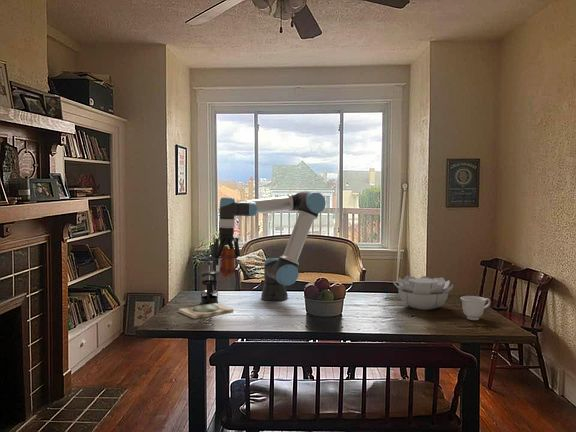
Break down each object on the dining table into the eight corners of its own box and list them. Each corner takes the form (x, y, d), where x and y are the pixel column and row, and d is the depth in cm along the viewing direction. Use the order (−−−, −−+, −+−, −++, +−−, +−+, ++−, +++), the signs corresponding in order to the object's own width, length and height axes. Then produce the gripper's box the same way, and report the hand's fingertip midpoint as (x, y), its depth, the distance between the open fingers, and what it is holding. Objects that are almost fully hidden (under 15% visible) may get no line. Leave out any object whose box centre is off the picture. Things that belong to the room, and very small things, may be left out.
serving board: (216, 305, 268) (216, 301, 268) (233, 311, 255) (233, 307, 255) (178, 312, 255) (178, 307, 254) (194, 318, 241) (194, 314, 241)
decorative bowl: (430, 299, 285) (430, 273, 284) (463, 312, 257) (464, 283, 256) (382, 303, 276) (383, 276, 275) (411, 316, 248) (412, 286, 247)
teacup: (496, 321, 240) (497, 300, 239) (467, 322, 237) (468, 301, 237) (482, 314, 252) (483, 295, 251) (455, 316, 249) (455, 296, 249)
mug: (237, 277, 255) (237, 248, 255) (221, 277, 253) (221, 248, 252) (232, 272, 269) (232, 245, 269) (216, 273, 267) (217, 245, 266)
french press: (216, 305, 270) (216, 262, 269) (199, 305, 270) (199, 262, 268) (219, 300, 282) (219, 259, 280) (202, 300, 281) (202, 259, 280)
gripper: (239, 226, 269) (238, 268, 270) (204, 227, 256) (204, 271, 257) (247, 227, 263) (246, 270, 264) (212, 228, 250) (211, 273, 251)
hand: (225, 270), depth 261 cm, fingers closed on mug, 8 cm apart
